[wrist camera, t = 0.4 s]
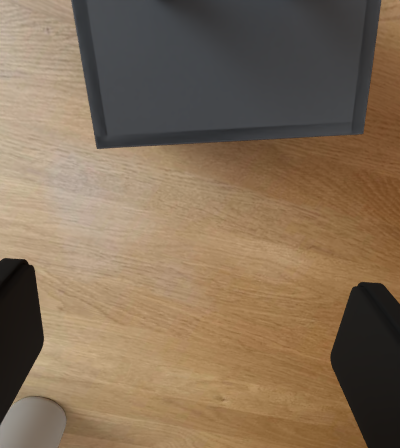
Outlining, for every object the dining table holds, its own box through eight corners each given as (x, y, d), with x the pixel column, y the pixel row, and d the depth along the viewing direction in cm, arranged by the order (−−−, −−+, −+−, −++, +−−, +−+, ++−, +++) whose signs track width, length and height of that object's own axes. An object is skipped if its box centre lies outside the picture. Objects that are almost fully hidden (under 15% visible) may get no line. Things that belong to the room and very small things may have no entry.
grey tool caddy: (130, 122, 30) (114, -2, 26) (306, 112, 29) (315, -14, 26) (45, 189, 13) (-34, -132, 9) (451, 168, 13) (534, -169, 9)
